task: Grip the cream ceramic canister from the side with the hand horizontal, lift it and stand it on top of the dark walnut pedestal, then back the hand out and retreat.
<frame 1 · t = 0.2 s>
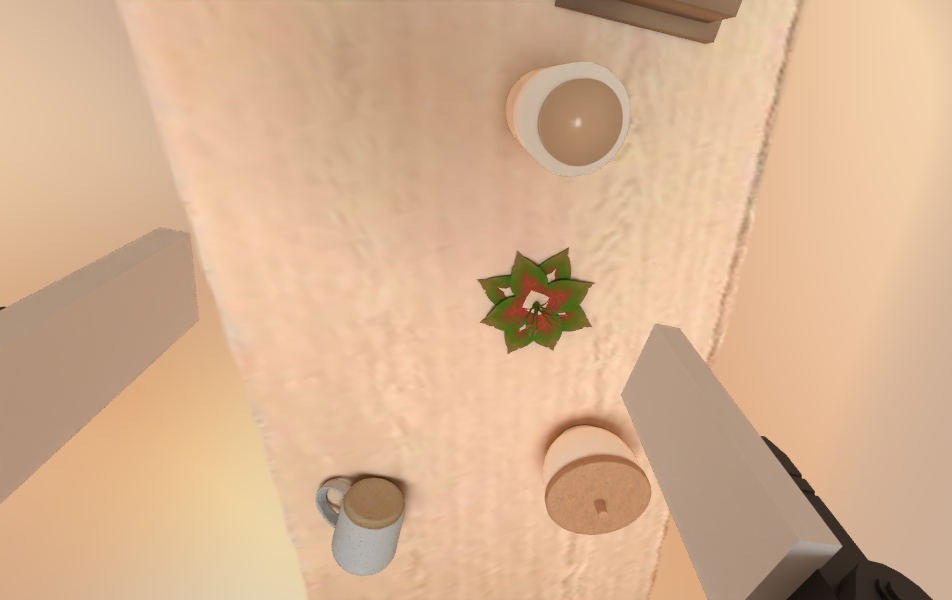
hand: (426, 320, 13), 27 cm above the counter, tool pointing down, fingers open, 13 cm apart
ceramic mug: (364, 494, 55), on the counter
canister: (542, 110, 35), on the counter
lidded jar: (580, 443, 52), on the counter
lily flower: (535, 300, 44), on the counter
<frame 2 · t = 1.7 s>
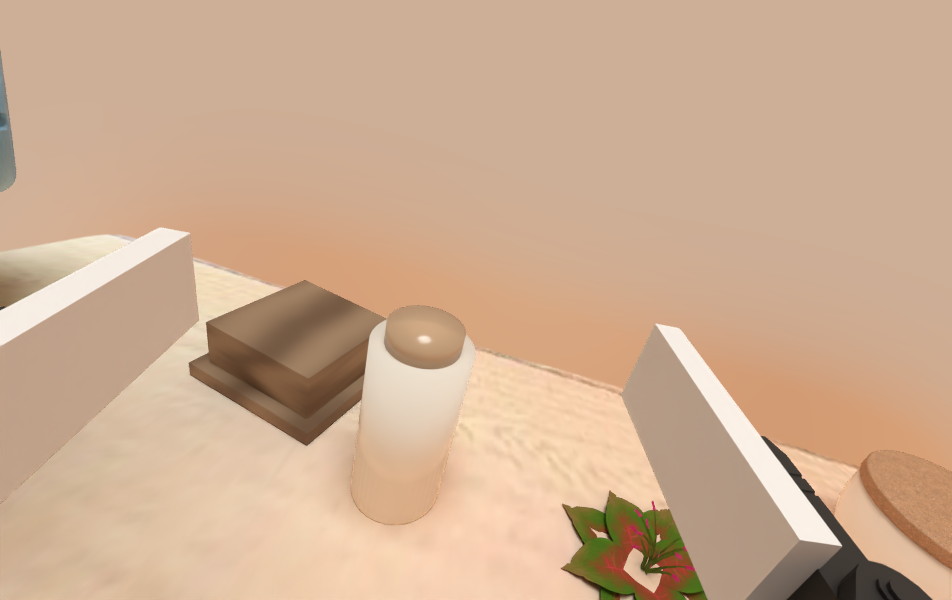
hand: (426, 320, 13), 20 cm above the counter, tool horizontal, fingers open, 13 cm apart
canister: (395, 484, 30), on the counter
lidded jar: (884, 580, 33), on the counter
pedestal: (304, 369, 38), on the counter
lily flower: (639, 575, 29), on the counter
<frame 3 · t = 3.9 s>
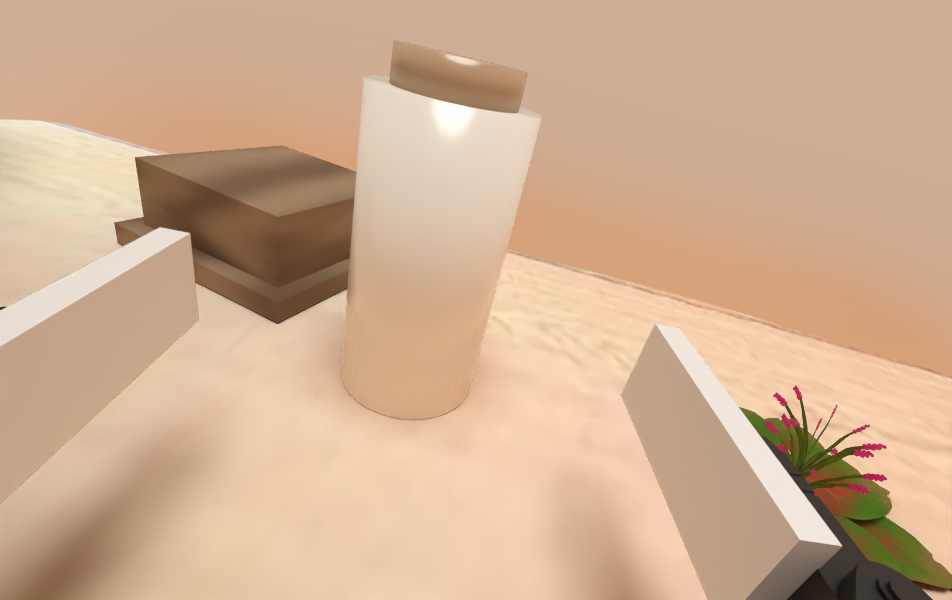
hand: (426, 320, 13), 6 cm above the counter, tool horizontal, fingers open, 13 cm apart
canister: (408, 372, 21), on the counter
pedestal: (280, 250, 28), on the counter
lily flower: (775, 499, 20), on the counter
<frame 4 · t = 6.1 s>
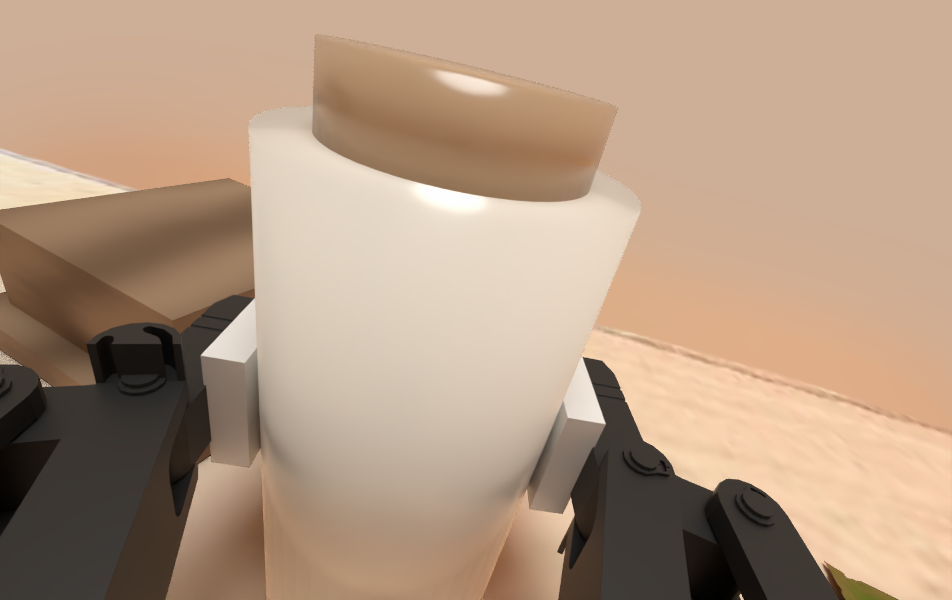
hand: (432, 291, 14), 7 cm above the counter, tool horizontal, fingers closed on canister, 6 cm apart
canister: (379, 567, 13), on the counter, touching gripper
pedestal: (217, 326, 21), on the counter
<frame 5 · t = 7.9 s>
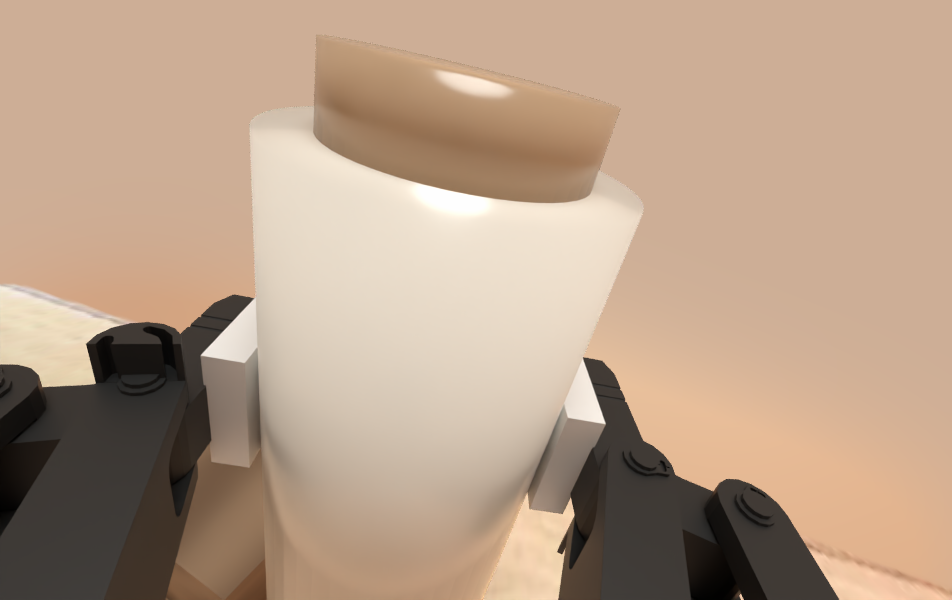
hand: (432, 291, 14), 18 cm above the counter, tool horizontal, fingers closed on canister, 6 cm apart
canister: (380, 568, 13), point 11 cm above the counter, touching gripper
pedestal: (245, 515, 25), on the counter
when the fingers open (13 cm above the counter, at t = 9.8 s): canister drops 1 cm, resting on pedestal.
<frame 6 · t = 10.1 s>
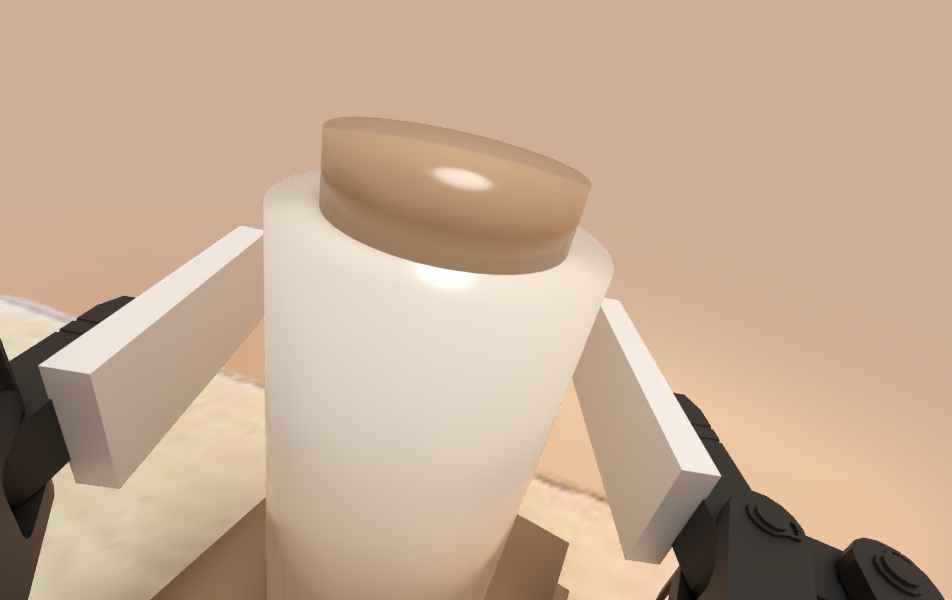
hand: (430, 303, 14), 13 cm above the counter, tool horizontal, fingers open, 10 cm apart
canister: (376, 592, 13), point 5 cm above the counter, touching pedestal
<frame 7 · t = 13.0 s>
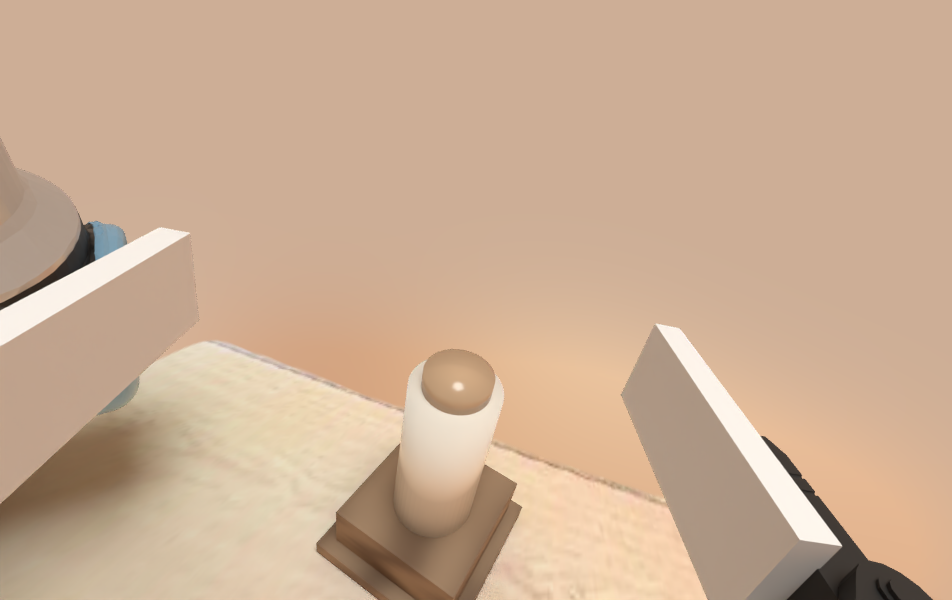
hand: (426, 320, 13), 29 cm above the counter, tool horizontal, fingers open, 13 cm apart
canister: (433, 498, 34), point 5 cm above the counter, touching pedestal
pedestal: (425, 531, 37), on the counter
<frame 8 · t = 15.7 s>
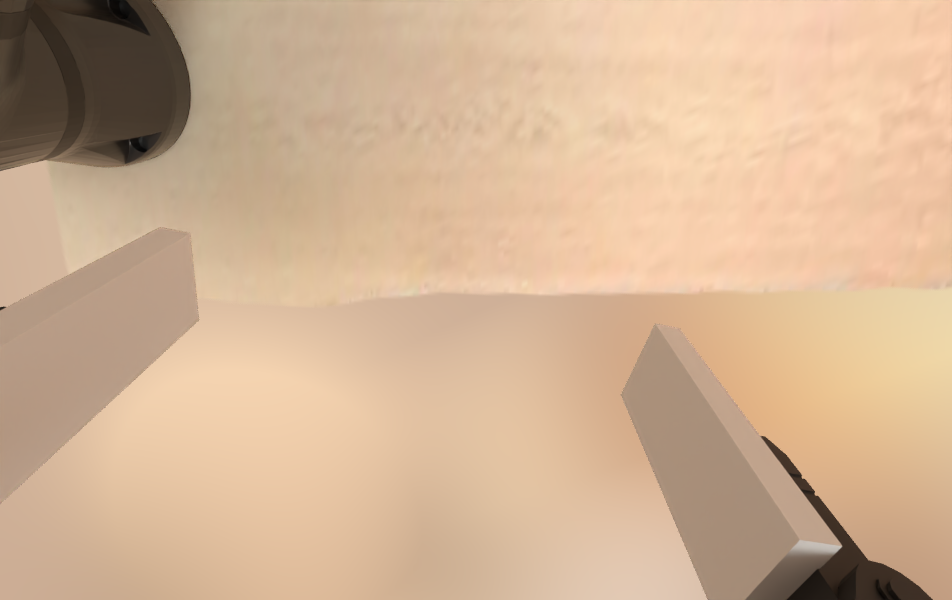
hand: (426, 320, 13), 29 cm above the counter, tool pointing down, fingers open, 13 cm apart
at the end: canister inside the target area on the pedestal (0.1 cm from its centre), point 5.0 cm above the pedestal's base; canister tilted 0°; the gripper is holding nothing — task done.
